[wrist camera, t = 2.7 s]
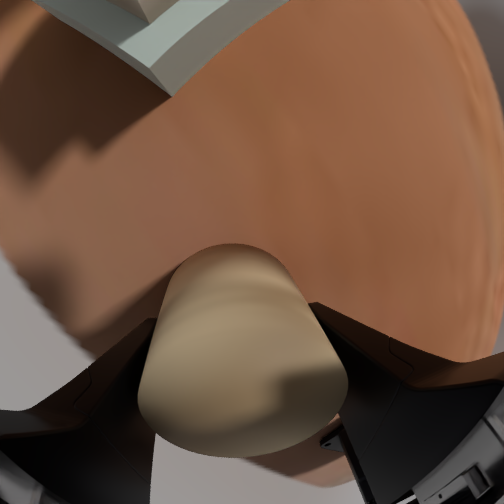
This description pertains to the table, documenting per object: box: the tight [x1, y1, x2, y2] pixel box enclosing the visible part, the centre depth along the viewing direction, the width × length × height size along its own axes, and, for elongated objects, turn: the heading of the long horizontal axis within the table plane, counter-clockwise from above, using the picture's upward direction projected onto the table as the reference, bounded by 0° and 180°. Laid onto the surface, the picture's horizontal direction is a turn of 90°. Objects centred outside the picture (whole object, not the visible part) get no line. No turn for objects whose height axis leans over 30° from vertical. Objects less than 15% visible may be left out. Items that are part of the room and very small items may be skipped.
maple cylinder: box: [138, 244, 348, 458], centre depth 8 cm, size 5×5×5 cm
